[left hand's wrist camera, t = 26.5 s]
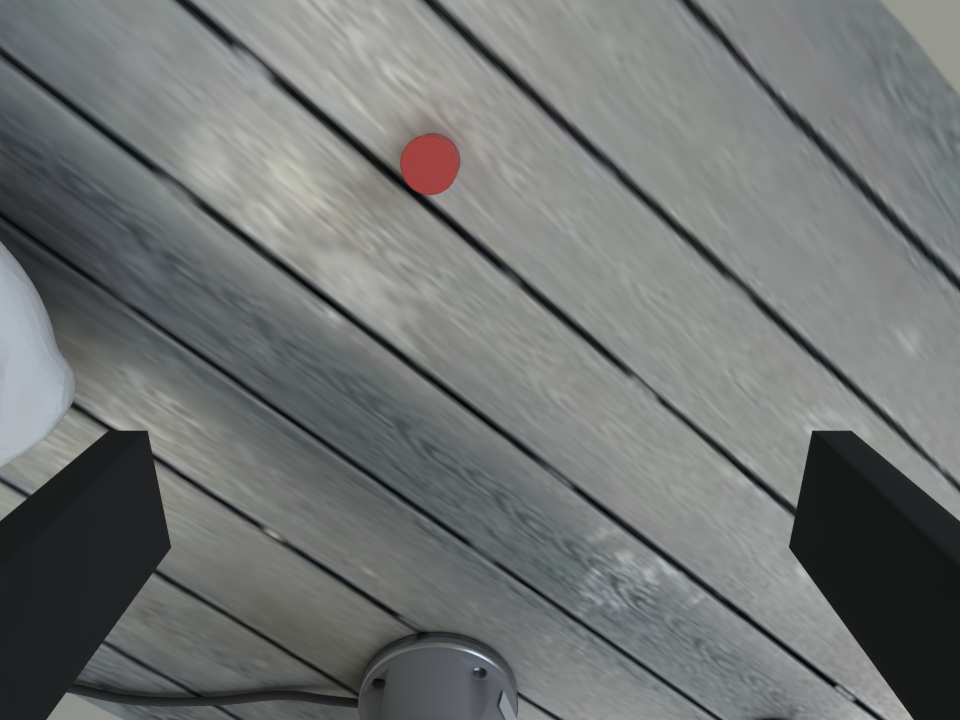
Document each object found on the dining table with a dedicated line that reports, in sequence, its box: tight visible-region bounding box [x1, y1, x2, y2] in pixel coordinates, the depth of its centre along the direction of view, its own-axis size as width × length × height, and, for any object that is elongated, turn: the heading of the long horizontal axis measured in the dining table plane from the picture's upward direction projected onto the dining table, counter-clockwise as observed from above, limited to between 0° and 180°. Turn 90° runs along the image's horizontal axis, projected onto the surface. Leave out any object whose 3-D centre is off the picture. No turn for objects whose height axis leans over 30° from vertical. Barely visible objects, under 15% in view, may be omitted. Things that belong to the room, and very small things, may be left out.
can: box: [401, 134, 460, 195], centre depth 43 cm, size 4×4×5 cm
